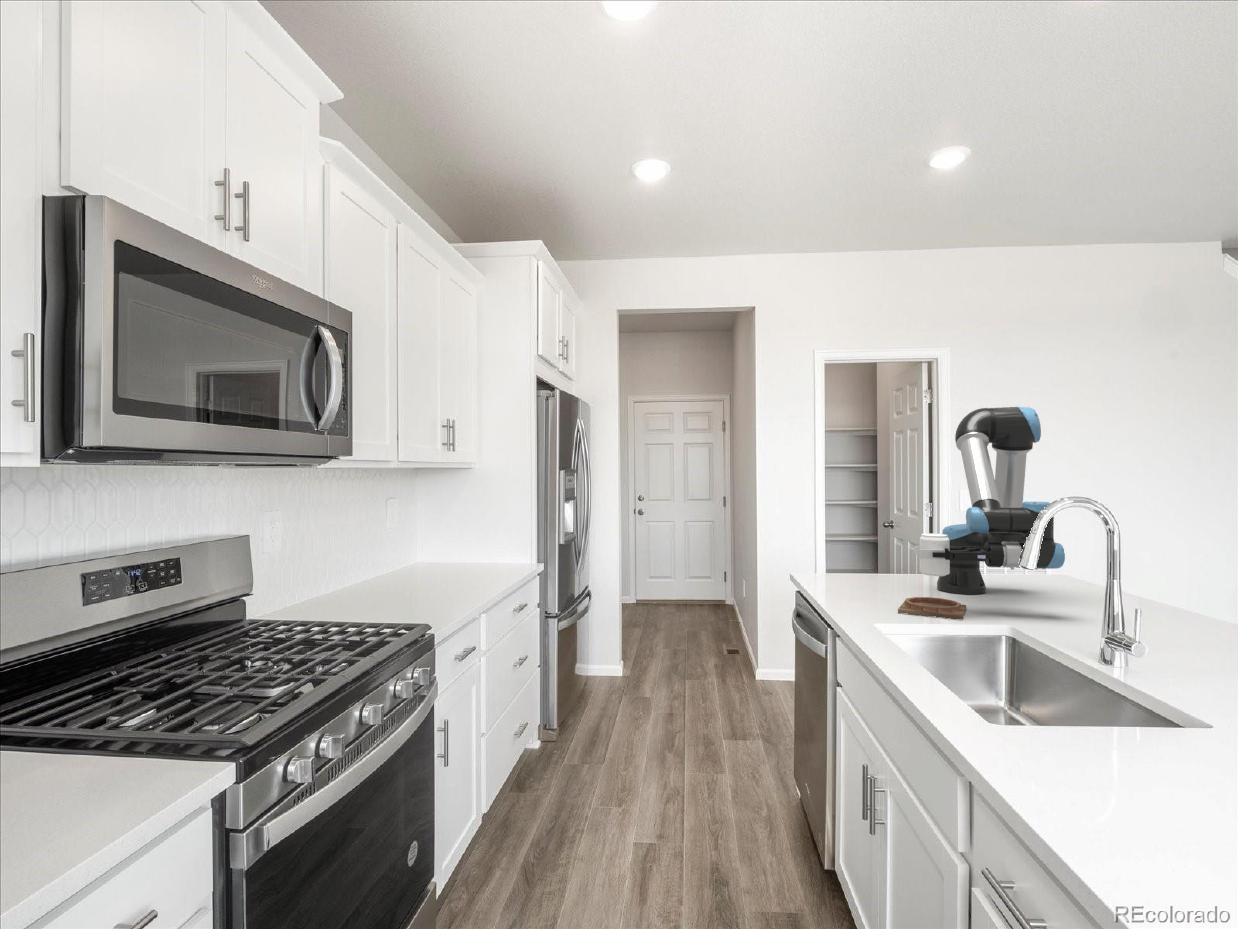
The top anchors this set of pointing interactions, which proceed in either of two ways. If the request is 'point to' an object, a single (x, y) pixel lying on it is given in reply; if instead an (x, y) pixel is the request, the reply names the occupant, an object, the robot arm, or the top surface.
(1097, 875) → the top surface
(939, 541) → the beverage can
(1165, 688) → the top surface
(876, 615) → the top surface
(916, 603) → the coaster board
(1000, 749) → the top surface
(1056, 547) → the robot arm
